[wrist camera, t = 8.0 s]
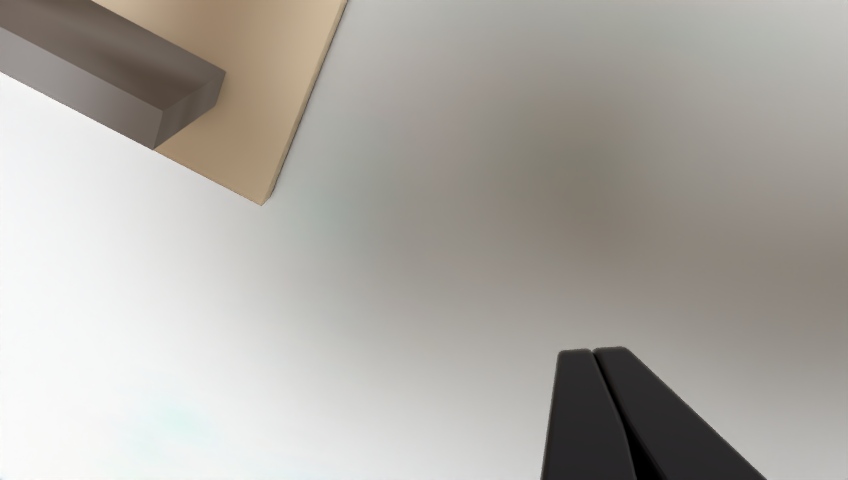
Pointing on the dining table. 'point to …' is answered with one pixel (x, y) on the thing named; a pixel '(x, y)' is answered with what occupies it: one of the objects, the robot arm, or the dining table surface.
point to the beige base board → (180, 74)
